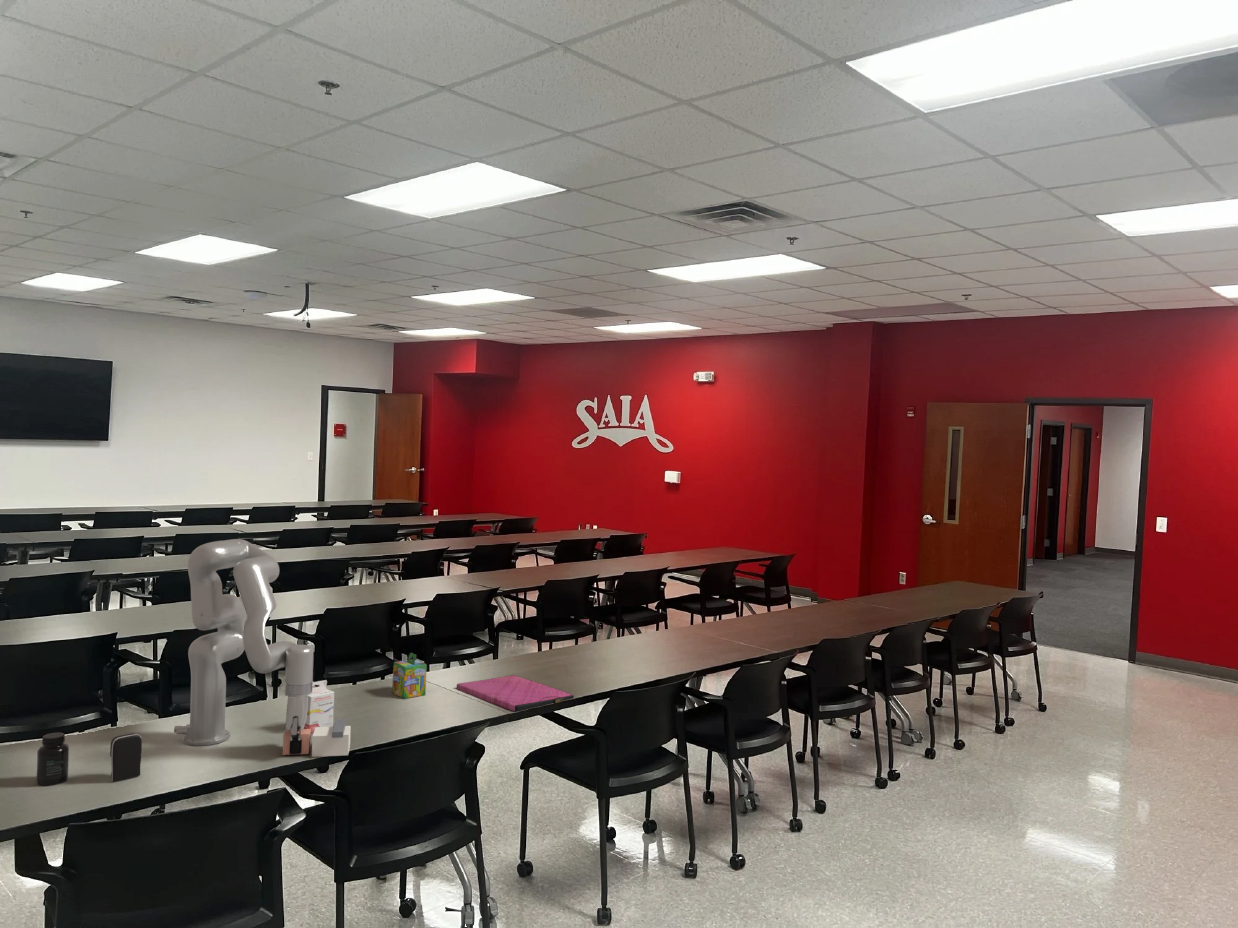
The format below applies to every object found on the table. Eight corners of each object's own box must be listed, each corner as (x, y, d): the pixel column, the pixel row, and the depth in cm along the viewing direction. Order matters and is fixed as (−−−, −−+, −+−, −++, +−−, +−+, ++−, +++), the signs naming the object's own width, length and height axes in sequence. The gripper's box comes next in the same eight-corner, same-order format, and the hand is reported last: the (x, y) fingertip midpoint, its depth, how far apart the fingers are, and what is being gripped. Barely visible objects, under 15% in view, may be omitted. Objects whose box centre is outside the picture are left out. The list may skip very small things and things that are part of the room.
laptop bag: (455, 679, 317) (513, 669, 336) (455, 690, 317) (512, 679, 336) (522, 704, 289) (581, 691, 308) (522, 715, 289) (580, 702, 308)
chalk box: (391, 693, 308) (392, 652, 308) (414, 689, 314) (415, 649, 314) (403, 699, 301) (404, 658, 301) (426, 695, 307) (427, 654, 307)
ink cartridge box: (309, 734, 262) (310, 687, 262) (300, 730, 265) (302, 684, 265) (333, 728, 269) (335, 682, 268) (325, 724, 272) (326, 678, 271)
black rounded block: (136, 772, 228) (138, 730, 228) (141, 776, 225) (142, 733, 225) (107, 778, 223) (108, 735, 223) (112, 783, 220) (113, 739, 220)
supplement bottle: (37, 778, 221) (38, 733, 221) (68, 774, 225) (69, 729, 224) (35, 788, 215) (36, 741, 215) (67, 783, 219) (68, 737, 219)
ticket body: (308, 759, 242) (309, 733, 242) (313, 744, 253) (314, 719, 253) (347, 757, 244) (348, 731, 244) (350, 743, 256) (351, 718, 256)
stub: (282, 754, 244) (283, 734, 243) (284, 749, 248) (285, 729, 248) (308, 753, 245) (309, 733, 245) (310, 748, 250) (310, 728, 249)
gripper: (289, 680, 254) (287, 740, 254) (280, 697, 237) (278, 761, 237) (315, 679, 255) (313, 739, 256) (308, 696, 239) (306, 760, 239)
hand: (296, 749), depth 247 cm, fingers closed on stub, 4 cm apart
